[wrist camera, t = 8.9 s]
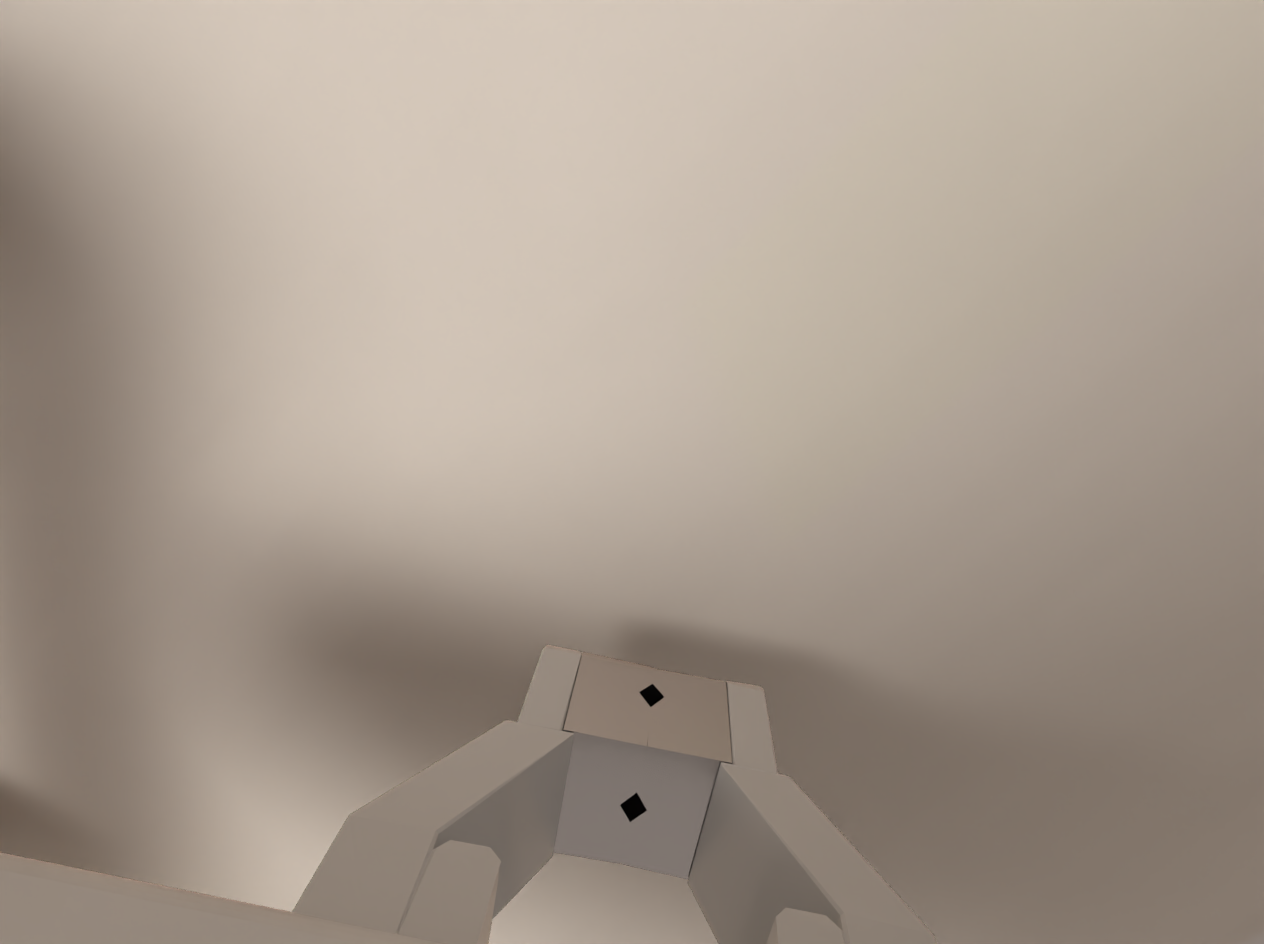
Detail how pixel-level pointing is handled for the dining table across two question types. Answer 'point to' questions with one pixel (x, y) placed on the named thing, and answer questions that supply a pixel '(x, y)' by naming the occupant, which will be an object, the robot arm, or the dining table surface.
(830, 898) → the robot arm
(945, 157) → the dining table surface
